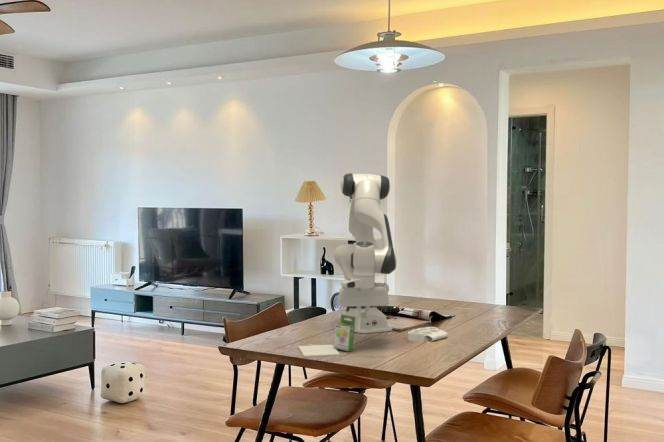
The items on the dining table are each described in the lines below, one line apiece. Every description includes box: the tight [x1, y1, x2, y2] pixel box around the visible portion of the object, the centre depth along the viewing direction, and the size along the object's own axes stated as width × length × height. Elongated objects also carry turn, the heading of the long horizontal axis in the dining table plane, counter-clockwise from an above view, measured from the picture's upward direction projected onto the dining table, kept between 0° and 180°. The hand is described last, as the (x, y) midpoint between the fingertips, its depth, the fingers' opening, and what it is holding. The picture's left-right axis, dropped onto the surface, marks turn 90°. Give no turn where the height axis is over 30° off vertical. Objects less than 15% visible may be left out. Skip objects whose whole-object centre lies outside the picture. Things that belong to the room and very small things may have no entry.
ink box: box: [333, 313, 356, 352], centre depth 260 cm, size 7×4×13 cm, turn 56°
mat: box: [297, 344, 341, 358], centre depth 258 cm, size 14×16×1 cm
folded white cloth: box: [407, 326, 449, 343], centre depth 283 cm, size 3×18×15 cm
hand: (363, 317), depth 261 cm, fingers closed
